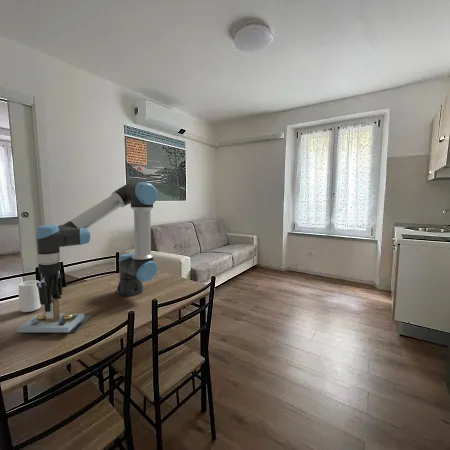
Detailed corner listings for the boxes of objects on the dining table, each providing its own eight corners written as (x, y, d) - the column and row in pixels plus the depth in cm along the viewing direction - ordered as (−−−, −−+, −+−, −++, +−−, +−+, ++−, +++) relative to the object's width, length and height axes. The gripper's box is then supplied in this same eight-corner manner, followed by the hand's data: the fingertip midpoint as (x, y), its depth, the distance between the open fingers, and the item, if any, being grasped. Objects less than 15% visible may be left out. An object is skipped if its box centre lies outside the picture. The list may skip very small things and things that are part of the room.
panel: (68, 332, 100) (67, 306, 99) (17, 332, 99) (15, 306, 98) (84, 317, 112) (83, 294, 110) (39, 317, 111) (37, 294, 110)
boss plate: (91, 316, 117) (91, 305, 116) (75, 332, 103) (74, 320, 102) (44, 316, 116) (43, 305, 115) (20, 332, 102) (19, 320, 101)
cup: (24, 316, 115) (21, 287, 114) (17, 311, 120) (14, 283, 118) (45, 309, 122) (43, 282, 121) (37, 305, 127) (35, 278, 125)
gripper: (52, 257, 110) (55, 307, 113) (25, 268, 94) (29, 325, 97) (70, 257, 110) (72, 307, 113) (45, 268, 94) (49, 325, 97)
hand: (52, 315), depth 105 cm, fingers closed on panel, 3 cm apart
